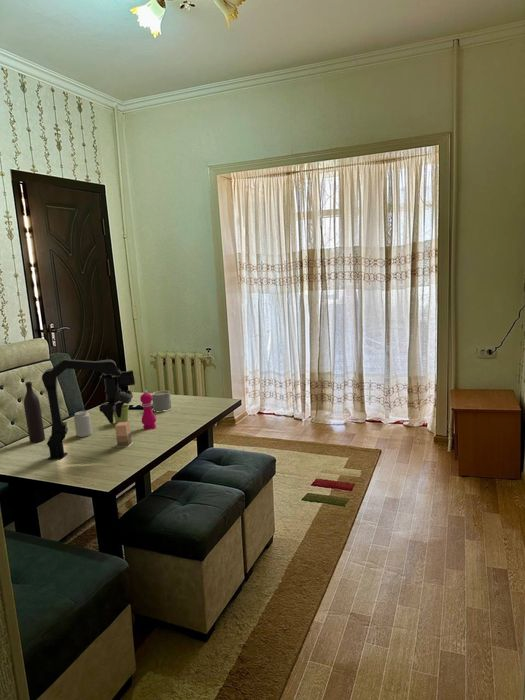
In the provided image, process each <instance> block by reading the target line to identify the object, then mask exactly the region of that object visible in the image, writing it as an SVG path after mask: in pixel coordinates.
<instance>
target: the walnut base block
mask: <svg viewBox="0 0 525 700" xmlns="http://www.w3.org/2000/svg"><path fill="white" fill-rule="evenodd" d="M132 439H133V438H132V432H130V433H129V434H128V435H127V436H116V442H117V443H116V444H117V446H118V447H117V448H124V447H123V446H129V445H130V444H131V443H132V442H133V440H132ZM132 444H133V443H132ZM132 444H131V445H132ZM131 445H130V446H131ZM130 446H129V447H130Z"/></svg>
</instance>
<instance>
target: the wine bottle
mask: <svg viewBox="0 0 525 700" xmlns="http://www.w3.org/2000/svg"><path fill="white" fill-rule="evenodd" d="M25 388H26V392H25V393H26V394H25V396H24V399H23V409H24V413H25V414H24V415H25V419H26V427H27V433H28V439H29V442H30V443H32V444H35V443H41V442H43V441H45V440H46V436H45V434H46V433H45V429H44V422H43V416H42V410H41V403H40V400H39V397H38V396H37V394H36V393H35V392H34V390H33V383H32V381H25Z"/></svg>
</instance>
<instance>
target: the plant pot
mask: <svg viewBox="0 0 525 700" xmlns="http://www.w3.org/2000/svg"><path fill="white" fill-rule="evenodd" d="M129 408H130V404H124V405H123V407H122V412H121V417H120V418H118V416H117V414H116V412H114V416H113V418H114V421H115V424H116V423H117V424H118V423H119V422H129V421H128V419H129Z"/></svg>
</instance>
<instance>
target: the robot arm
mask: <svg viewBox="0 0 525 700" xmlns="http://www.w3.org/2000/svg"><path fill="white" fill-rule="evenodd" d="M68 369H69V370H86V371H95V372H98V373H102V375H100V376H99V380H101V381H102V380H104V386H105V389H104V391H103V393H104V394H105V398H106V399H105V400H104V401H105V402H103V403H101V404H100V406H99V412H101V413H102V414H103V415H104V416H105V418H106V420H107V421H108V422H109V424H111V425H114V412H116V414H117V416H118V418H120V417H121V412H122V407H123V405H130V403H131V402H132V399H133V398H134V396H133V394H132V390H129V389H127V391H126V392H125V391H122V389H121V387H119V385H121V386H122V387H130V386H135V385H136V381H135V375H134V370H132V369H130V370H127V371H125V370H124V371H121V369H120V368H119V367H117V364H116V361H114V360H113V359H102V360H96V361H94V360H84V359H82V360H81V359H69V358H63V359H62V360H61V361H60V362H59V363H58V364H56V365H55V366H54V367H53V368H47V369H46V370H44V372H43V373H42V376H41V381H42V383H43V385H44V388H45V390H46V392H47V398H48V404H49V409H50V416H51V434H50V436H49V438H48V441H47V442H46V445H47V446H48V450H49V455H50V456H49V457H47V460H61V459H63V458H65V456H67V455H68V452H65V449H64V448H65V447H64V443H63V441H64V440H65V439H66V436H67V434H68V431H69V429H68V427H67V423H68V422H67V421H64V420H63V418H62V413H61V405H60V401H59V399H60V398H59V394H58V381H59V376H60V375H61V374H62V373H64V372H65V371H66V370H68Z"/></svg>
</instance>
